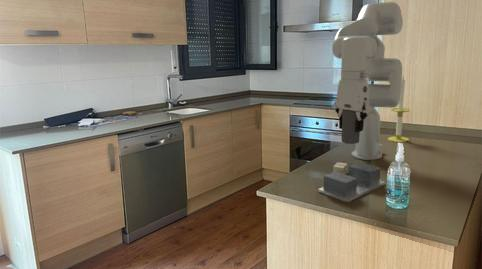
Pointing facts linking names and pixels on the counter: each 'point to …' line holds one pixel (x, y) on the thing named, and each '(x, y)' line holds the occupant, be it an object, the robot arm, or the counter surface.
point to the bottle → (349, 126)
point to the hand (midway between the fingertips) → (350, 129)
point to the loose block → (340, 168)
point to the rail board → (352, 182)
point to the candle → (400, 116)
